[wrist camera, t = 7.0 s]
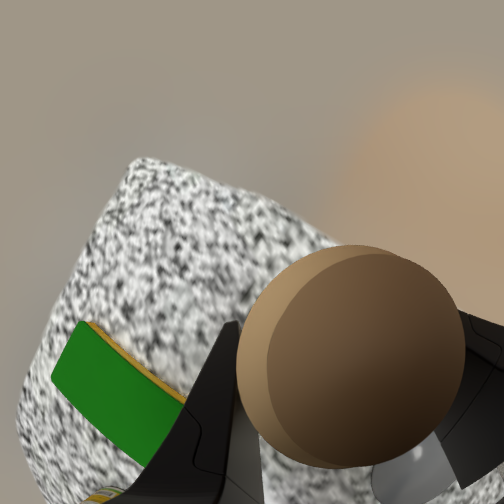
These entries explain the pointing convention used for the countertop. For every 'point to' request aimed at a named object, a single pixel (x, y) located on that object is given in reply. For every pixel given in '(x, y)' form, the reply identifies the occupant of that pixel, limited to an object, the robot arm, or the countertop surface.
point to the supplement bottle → (103, 495)
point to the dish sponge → (116, 392)
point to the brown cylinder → (350, 357)
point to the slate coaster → (413, 475)
